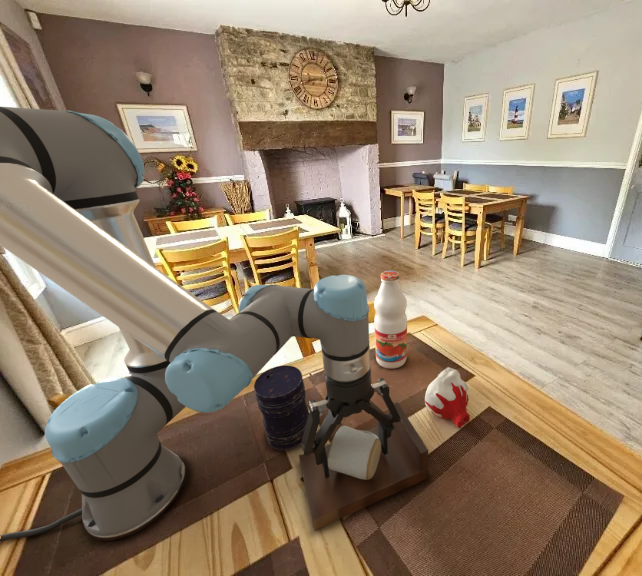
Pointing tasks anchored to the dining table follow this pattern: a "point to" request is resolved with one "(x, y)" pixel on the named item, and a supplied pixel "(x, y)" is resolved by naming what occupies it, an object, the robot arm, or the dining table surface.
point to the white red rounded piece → (448, 397)
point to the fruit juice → (390, 322)
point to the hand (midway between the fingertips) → (355, 459)
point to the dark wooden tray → (353, 493)
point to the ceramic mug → (354, 453)
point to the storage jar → (282, 406)
